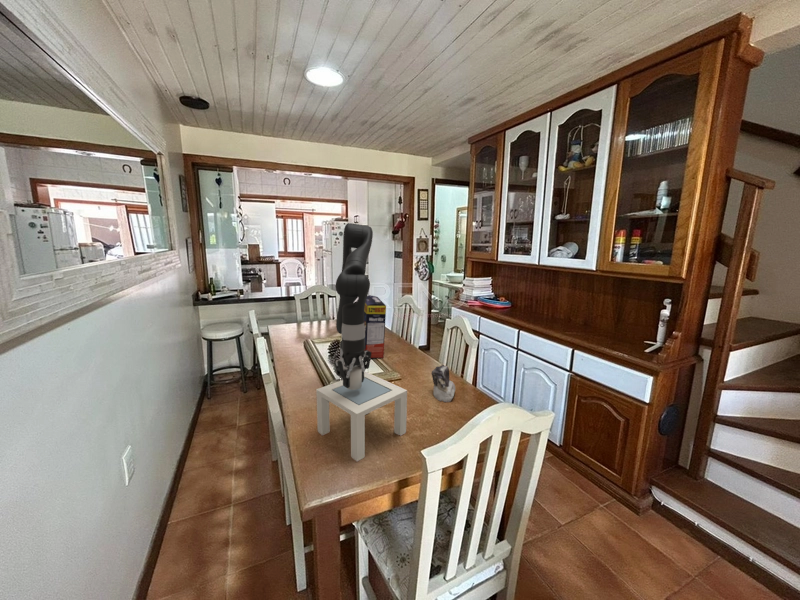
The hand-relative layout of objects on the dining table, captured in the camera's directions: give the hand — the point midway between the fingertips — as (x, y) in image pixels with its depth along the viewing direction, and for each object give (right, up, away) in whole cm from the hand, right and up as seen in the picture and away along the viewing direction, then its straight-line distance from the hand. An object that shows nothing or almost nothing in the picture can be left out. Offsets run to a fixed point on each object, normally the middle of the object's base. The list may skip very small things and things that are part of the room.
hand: (353, 384), depth 111 cm
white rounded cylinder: (0, -1, 0) cm, 1 cm away
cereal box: (-1, -3, +87) cm, 87 cm away
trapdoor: (+2, -4, +3) cm, 5 cm away
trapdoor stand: (+2, -18, +6) cm, 19 cm away
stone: (+34, -14, +34) cm, 50 cm away
